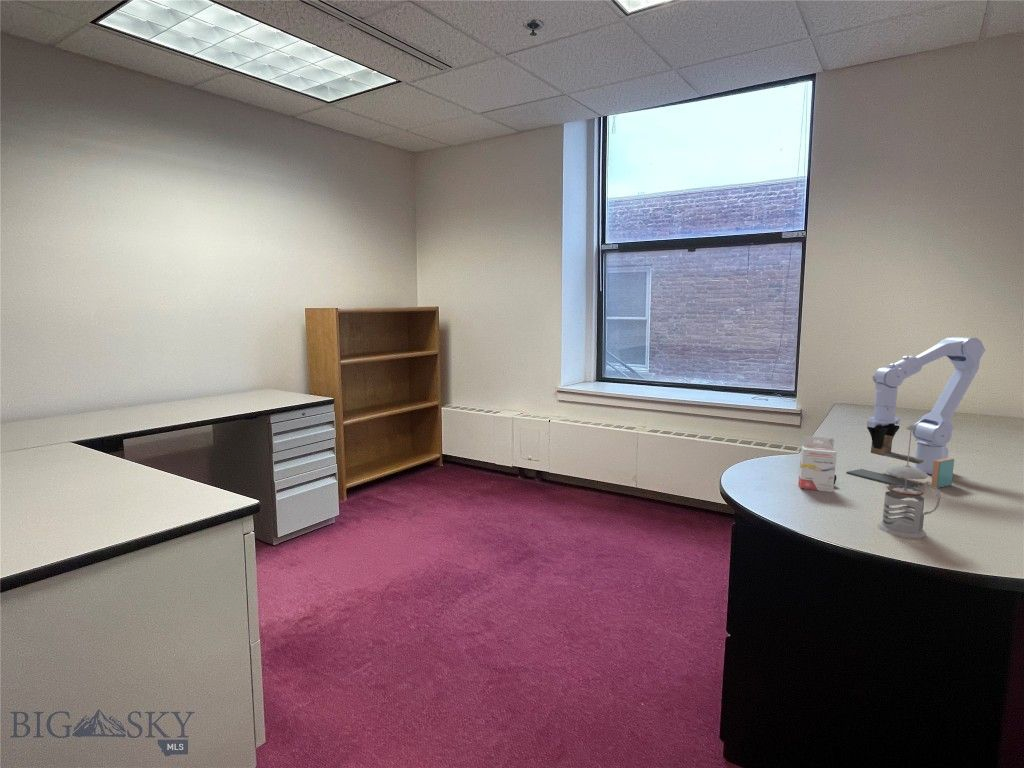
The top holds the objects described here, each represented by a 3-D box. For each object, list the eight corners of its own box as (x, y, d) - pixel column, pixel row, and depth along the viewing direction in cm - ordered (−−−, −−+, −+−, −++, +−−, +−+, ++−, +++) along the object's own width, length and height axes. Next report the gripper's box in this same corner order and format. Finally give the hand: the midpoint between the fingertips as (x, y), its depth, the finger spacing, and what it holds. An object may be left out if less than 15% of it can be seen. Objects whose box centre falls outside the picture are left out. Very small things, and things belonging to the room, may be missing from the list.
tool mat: (861, 470, 191) (861, 468, 191) (921, 485, 175) (921, 483, 175) (846, 473, 187) (846, 471, 187) (906, 488, 172) (906, 486, 172)
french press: (883, 519, 145) (893, 419, 142) (940, 532, 137) (952, 426, 134) (870, 529, 139) (880, 424, 136) (930, 543, 130) (941, 432, 127)
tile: (945, 483, 177) (948, 457, 176) (951, 485, 176) (954, 458, 175) (931, 487, 174) (933, 460, 173) (937, 488, 172) (940, 461, 171)
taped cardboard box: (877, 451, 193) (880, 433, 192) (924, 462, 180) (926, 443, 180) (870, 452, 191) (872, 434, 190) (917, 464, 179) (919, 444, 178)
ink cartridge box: (800, 489, 170) (804, 438, 168) (798, 484, 174) (801, 435, 173) (833, 492, 167) (838, 441, 165) (830, 487, 172) (834, 437, 170)
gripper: (885, 402, 195) (881, 442, 197) (859, 405, 188) (855, 447, 190) (908, 405, 189) (904, 447, 190) (881, 408, 182) (877, 451, 184)
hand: (881, 447), depth 190 cm, fingers closed on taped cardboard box, 4 cm apart
